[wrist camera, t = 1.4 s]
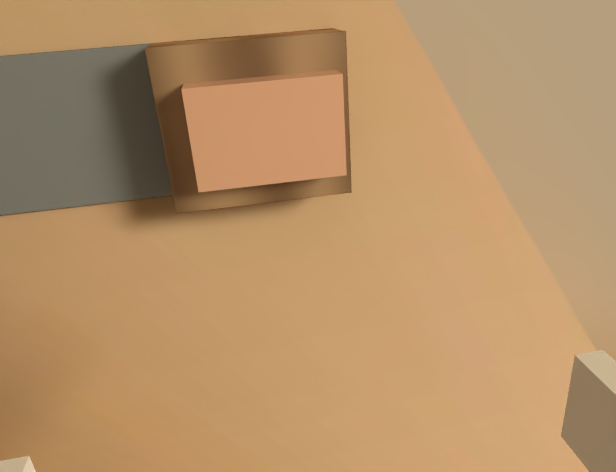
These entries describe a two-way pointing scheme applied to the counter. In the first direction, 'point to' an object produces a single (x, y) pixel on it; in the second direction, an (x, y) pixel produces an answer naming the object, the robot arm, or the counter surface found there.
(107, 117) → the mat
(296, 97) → the salmon orange flat block
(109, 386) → the counter surface
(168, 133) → the brown wooden flat block
